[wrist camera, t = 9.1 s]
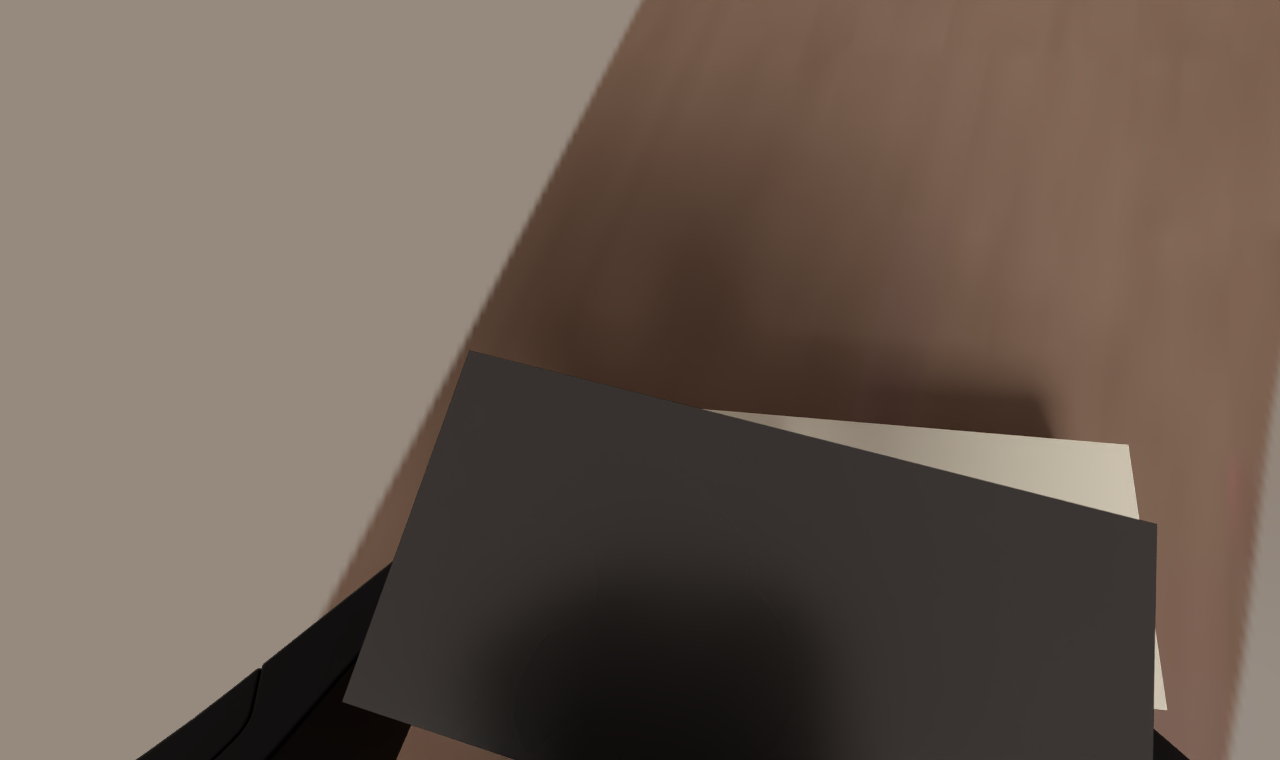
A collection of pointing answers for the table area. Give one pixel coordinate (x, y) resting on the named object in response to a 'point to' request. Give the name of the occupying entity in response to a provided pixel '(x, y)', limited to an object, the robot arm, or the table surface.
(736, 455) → the charcoal grey box
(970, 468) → the recessed rectangular block
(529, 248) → the table surface
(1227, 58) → the table surface
